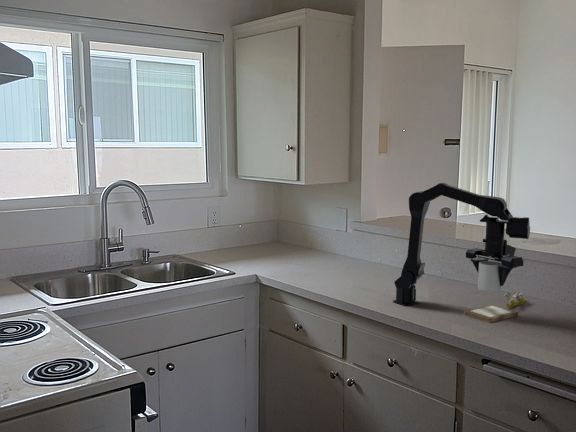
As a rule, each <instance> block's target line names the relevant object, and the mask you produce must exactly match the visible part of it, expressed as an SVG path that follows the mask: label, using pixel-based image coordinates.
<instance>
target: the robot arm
mask: <svg viewBox="0 0 576 432" xmlns="http://www.w3.org/2000/svg"><path fill="white" fill-rule="evenodd" d="M441 196H443V197H446V198H450V199H452V200H455V201H457V202H461V203H465V204H468V205H470V206H474V207H476V208H477V209H478V210H480V211H482V212H483V213H486V214H484V215H483V217H482V218H480V220H479V222H480V223H485V237H484V238H483V239H482V243H484V249H483V248H482V249H481V248H478V247H477V248H468V249H467V250H466V252H465V258H467V259H469V260H470V262H472V264H473V266H474V267H475V269H476V272H477V274H479V262H481V261H494V262H500V263H502V266H498V269H499V282H500V286H501V287H504V286H505V283H506V280H507V278H508V276H509V275H510V273H511V271H512V270H513V269H515V268H519V267H523V266H524V259H523V257H522V256H517V255H515V253H516V250H517V248H516V247H514V246H512V245H509V244H508V240H507V239H505V234H506V235H507V236H508V237H509V238H510V239H511V238H512V239H519V240H520V239H522V240H529V239H530V235H531V226H530V217H529V216H528V217H526V216H524V217H517V216H513V214H512V213H511V212H510V210H509V209H508V204H507V202H506V200H505V199H504V198H503V197H501V196H500V197H499V196H492V195H483V194H478V193H474V192H471V191H468V190H466V189H462V188H459V187H456V186H454V185H450V184H447V183H446V182H440V183H437V184H435V185H434V186H433V187H430V188H428V189H426V190H424V191H423V190H422V191H416V192H413V193H411V194H410V196H409V197H408V209H409V213H410V228H409V237H408V246H407V255H406V259H405V262H404V263H403V266H402V270H401V274H400V277H398V278H397V279H395V280H394V282H393V283H394V287H395V289H396V290H395V293H396V294H395V296H396V297H395V299H394V300H393V299H392V302H393V303H396V304H398V305H401V306H405V307H406V306H411V305H417V304H419V301H417V300H416V297H417V289H416V284H417V282H418V281H419V280H420V279H421V278H423V275H424V274H425V267H426V262H422V260H421V254H422V253H421V252H422V251H421V250H422V241H423V233H424V223H425V217H426V215H427V212H428V210H429V208H430V203H431V202H432V201H433V200H435V199H437V198H439V197H441Z"/></svg>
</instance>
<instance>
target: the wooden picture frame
mask: <svg viewBox="0 0 576 432" xmlns="http://www.w3.org/2000/svg"><path fill="white" fill-rule="evenodd" d="M518 313H519V312H518V311H517V310H516V311H515V310H511V309H509V308H505V307H501V306H497V305H494V304H490V305H486V306H482V307H481V306H480V307H476V308H472V309H467V310H464V313H463V314H464V315H465V316H468V317H471V318H474V319H478V320H479V321H483V322H486V323H493V322H497V321H501V320H506V319H509V318H514V317H517V316H519V314H518Z"/></svg>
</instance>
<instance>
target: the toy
mask: <svg viewBox="0 0 576 432" xmlns="http://www.w3.org/2000/svg"><path fill="white" fill-rule="evenodd" d="M513 293H514V294H513V295H512V296H511V294H510V292H508V293H505V294H504V297H505V298H506V299H507V301H508V302H507V303H506V304H505V305H506V306H507V307H506V308H507V309H509V310H511V309H512V308H514V307H515V306H521V305H523V304H524V303H525V300H526V299H525V298H524V297H523V296H524V294H523V292H519V291H517V290H514V291H513ZM510 297H511V298H510Z"/></svg>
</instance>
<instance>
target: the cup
mask: <svg viewBox="0 0 576 432" xmlns="http://www.w3.org/2000/svg"><path fill="white" fill-rule="evenodd" d="M498 266H502V263H501V262H499V261H494V260H488V261H481V262H479V274H478V273H477V274H478V276H477V279H478V280H477V289H478V290H479V291H481V292H483V293H491V294H492V293H496V294H497V293H500V292H501V291H502V286H500V282H499V269H498Z"/></svg>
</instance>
